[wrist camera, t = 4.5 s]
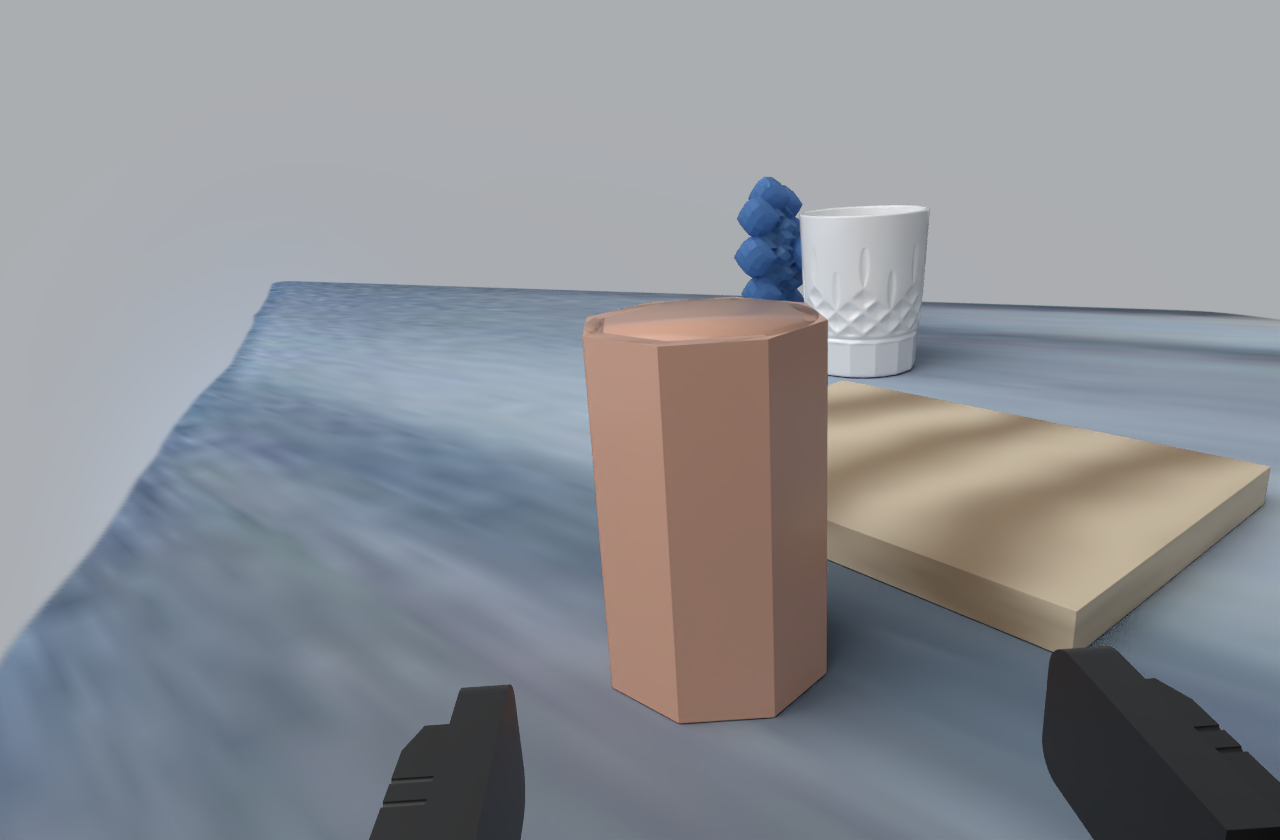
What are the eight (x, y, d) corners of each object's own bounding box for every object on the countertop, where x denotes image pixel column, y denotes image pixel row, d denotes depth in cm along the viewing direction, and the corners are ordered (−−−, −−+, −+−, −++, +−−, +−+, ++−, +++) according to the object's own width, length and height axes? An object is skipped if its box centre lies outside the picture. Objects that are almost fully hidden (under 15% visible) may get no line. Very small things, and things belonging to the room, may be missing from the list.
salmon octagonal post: (859, 645, 25) (864, 307, 22) (733, 752, 21) (719, 355, 18) (701, 585, 29) (687, 292, 26) (569, 664, 25) (536, 329, 22)
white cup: (941, 358, 56) (948, 204, 53) (895, 387, 50) (899, 215, 47) (832, 348, 61) (833, 206, 58) (778, 373, 55) (776, 216, 52)
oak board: (1264, 503, 32) (1270, 466, 32) (1071, 659, 23) (1076, 611, 23) (843, 406, 47) (843, 380, 47) (632, 479, 39) (630, 448, 38)
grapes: (805, 346, 62) (804, 177, 58) (720, 342, 65) (714, 181, 61) (847, 316, 72) (848, 169, 68) (771, 314, 75) (769, 173, 71)
